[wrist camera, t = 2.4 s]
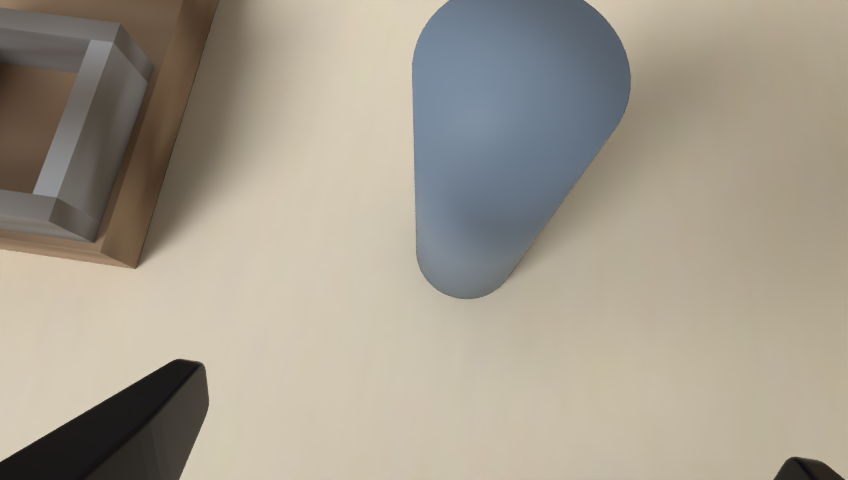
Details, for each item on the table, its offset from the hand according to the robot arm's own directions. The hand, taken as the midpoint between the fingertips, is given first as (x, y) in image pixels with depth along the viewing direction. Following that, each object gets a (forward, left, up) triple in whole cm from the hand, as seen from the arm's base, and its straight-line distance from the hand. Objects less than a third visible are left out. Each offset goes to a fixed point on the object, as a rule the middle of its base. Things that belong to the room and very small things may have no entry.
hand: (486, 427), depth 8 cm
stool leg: (+2, +6, -12) cm, 14 cm away
